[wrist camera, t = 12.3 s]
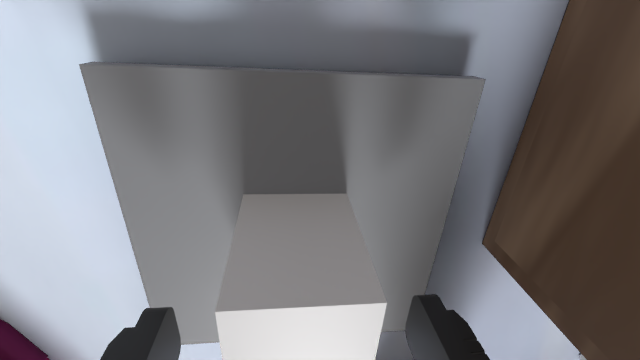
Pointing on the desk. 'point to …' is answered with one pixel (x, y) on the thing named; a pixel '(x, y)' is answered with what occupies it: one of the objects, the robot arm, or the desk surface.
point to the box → (581, 184)
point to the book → (17, 345)
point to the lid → (283, 197)
